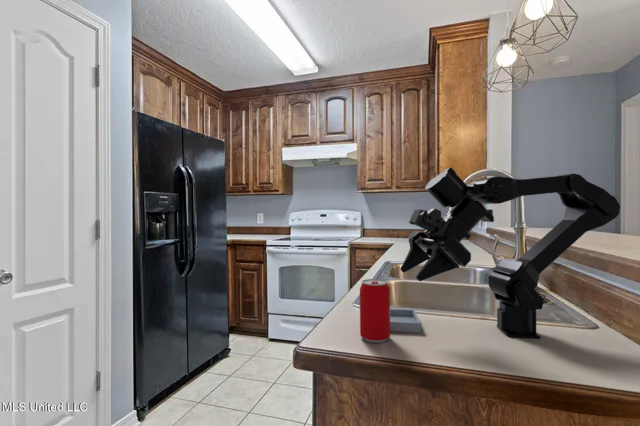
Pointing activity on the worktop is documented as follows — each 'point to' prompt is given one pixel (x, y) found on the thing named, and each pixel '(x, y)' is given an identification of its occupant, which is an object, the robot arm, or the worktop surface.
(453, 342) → the worktop surface
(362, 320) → the beverage can
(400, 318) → the tray
